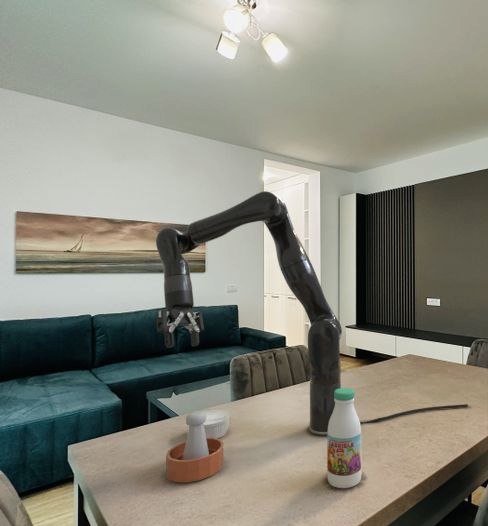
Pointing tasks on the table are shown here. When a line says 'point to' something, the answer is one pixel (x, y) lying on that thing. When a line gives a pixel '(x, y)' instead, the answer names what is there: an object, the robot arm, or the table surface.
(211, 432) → the ramekin
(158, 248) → the robot arm
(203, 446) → the salt shaker
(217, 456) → the bowl
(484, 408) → the table surface
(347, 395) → the milk bottle
